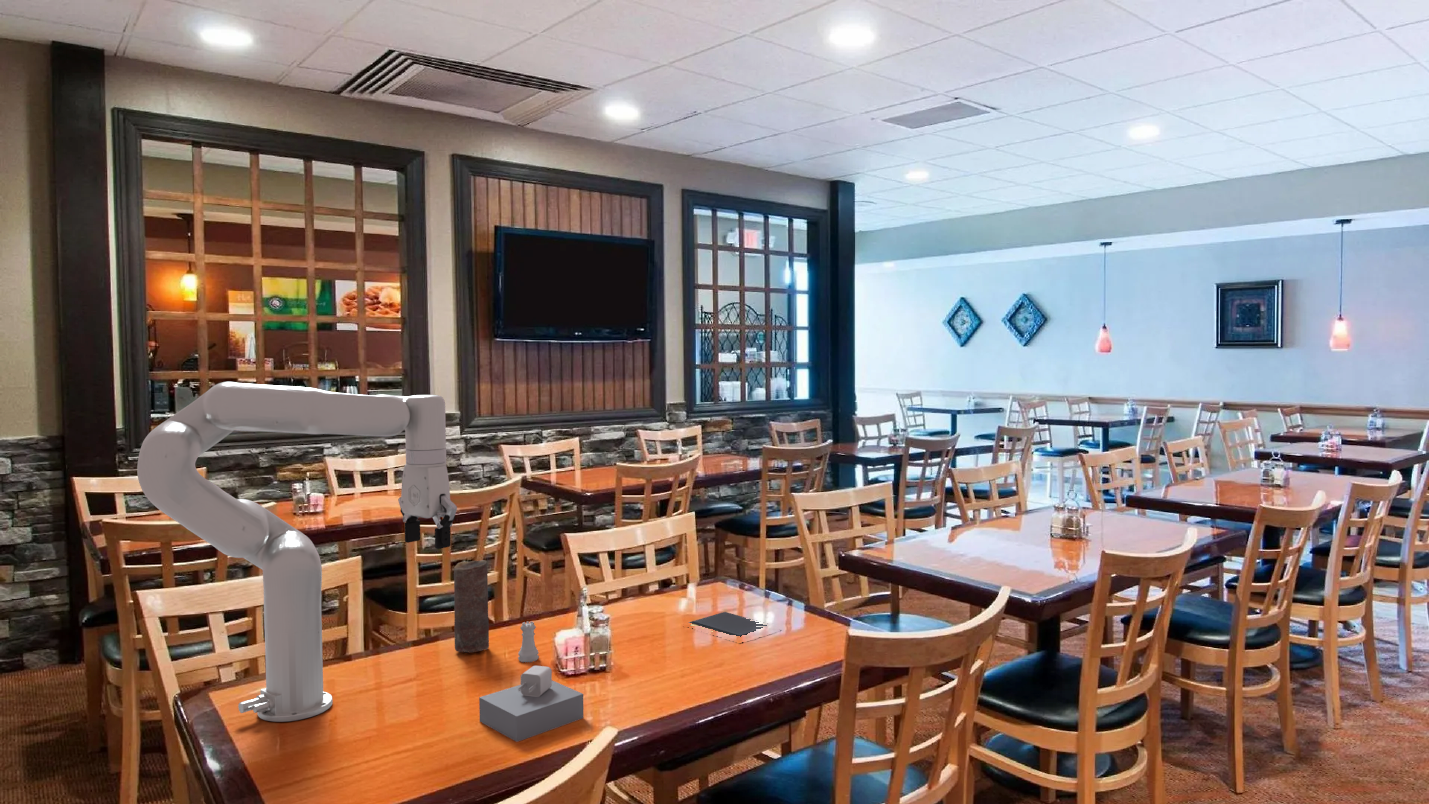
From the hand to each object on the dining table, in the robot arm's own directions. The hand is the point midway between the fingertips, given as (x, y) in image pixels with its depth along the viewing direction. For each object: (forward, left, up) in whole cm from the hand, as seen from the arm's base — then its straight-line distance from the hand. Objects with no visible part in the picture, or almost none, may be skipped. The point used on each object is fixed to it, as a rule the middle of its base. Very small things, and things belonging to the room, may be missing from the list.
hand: (427, 544), depth 175 cm
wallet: (+66, -26, -29) cm, 77 cm away
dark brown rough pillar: (+18, +10, -28) cm, 35 cm away
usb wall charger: (+2, -29, -24) cm, 37 cm away
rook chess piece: (+22, -4, -28) cm, 36 cm away
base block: (+1, -29, -29) cm, 41 cm away
